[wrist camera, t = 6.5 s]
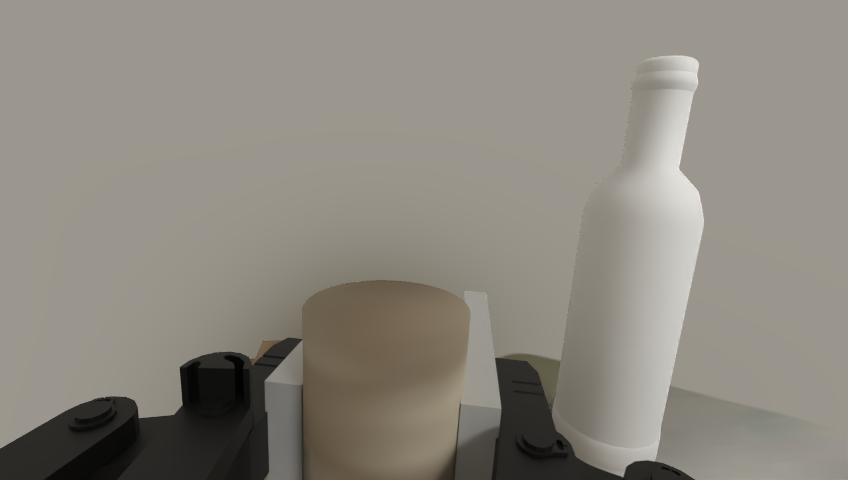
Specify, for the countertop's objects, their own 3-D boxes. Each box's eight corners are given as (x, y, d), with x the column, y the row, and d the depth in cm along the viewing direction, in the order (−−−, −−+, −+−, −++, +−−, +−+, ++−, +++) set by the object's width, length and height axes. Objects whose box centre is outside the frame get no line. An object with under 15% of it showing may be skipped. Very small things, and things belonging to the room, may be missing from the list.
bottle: (586, 495, 28) (666, 38, 22) (531, 423, 36) (580, 65, 29) (677, 480, 30) (775, 56, 24) (607, 414, 38) (668, 78, 31)
